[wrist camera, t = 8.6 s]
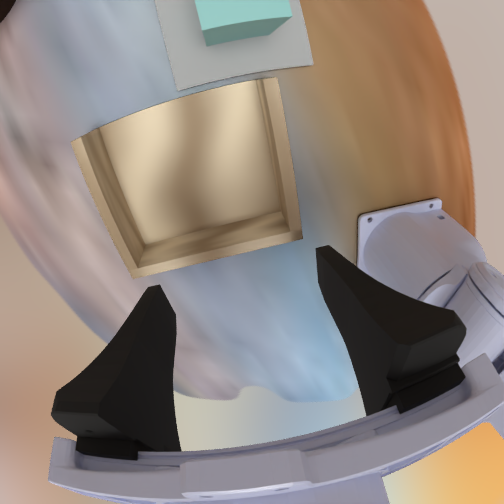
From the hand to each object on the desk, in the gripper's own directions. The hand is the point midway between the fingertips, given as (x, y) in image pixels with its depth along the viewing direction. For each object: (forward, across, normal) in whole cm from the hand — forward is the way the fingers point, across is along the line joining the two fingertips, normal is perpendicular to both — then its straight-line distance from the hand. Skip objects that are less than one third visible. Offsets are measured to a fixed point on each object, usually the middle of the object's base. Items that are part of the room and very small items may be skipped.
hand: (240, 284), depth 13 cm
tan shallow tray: (+10, +2, -3) cm, 11 cm away
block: (+9, -3, -13) cm, 16 cm away
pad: (+10, -3, -13) cm, 17 cm away
